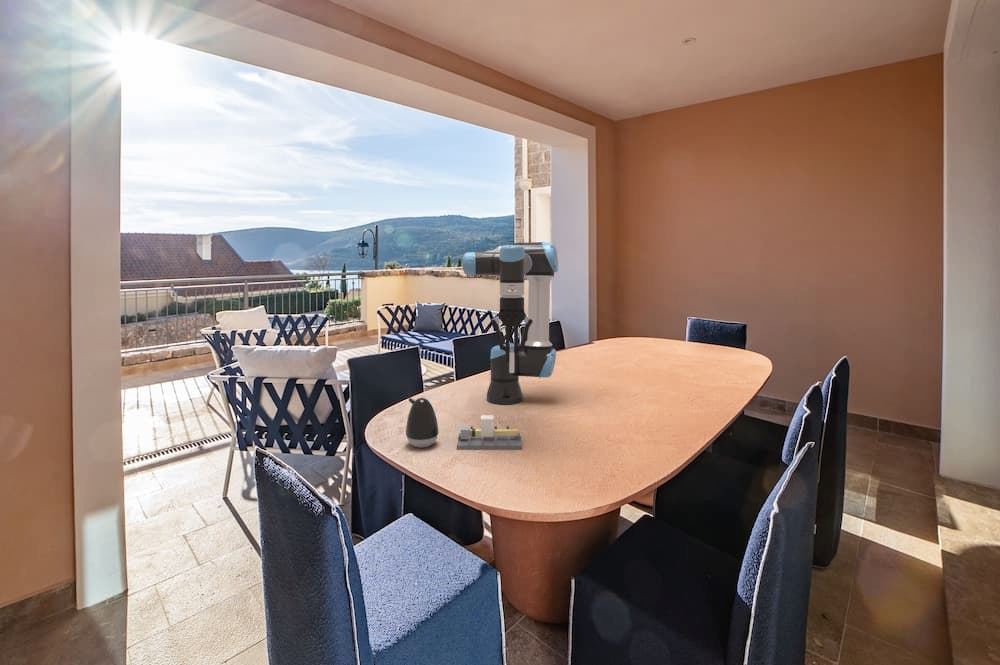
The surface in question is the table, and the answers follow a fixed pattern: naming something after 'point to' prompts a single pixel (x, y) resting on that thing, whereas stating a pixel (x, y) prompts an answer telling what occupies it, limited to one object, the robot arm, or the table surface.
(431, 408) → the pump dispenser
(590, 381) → the table surface
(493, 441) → the cable comb
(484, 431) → the sleeve
